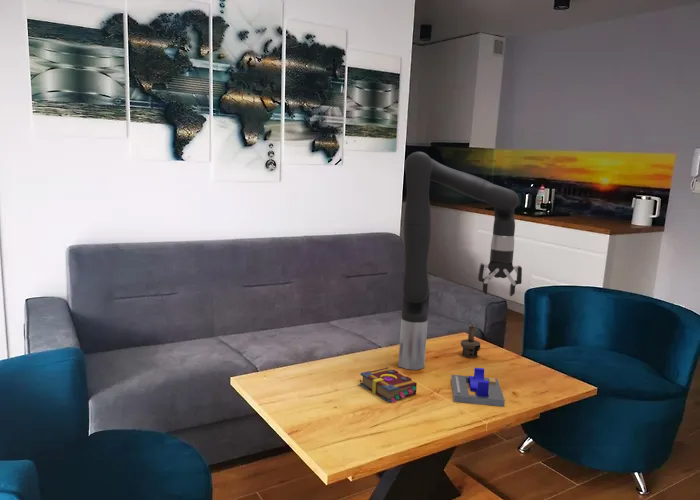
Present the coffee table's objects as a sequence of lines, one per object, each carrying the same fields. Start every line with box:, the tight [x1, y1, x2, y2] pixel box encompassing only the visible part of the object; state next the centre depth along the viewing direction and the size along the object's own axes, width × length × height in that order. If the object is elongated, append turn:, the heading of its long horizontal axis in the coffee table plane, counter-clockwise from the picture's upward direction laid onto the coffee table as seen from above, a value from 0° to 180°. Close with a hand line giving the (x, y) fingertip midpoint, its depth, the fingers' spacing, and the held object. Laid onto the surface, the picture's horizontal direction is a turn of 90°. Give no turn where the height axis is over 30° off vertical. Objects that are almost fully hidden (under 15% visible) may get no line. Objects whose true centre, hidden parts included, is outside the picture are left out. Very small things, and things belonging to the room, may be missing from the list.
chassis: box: [450, 374, 506, 407], centre depth 176 cm, size 15×17×3 cm
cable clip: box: [468, 367, 489, 397], centre depth 176 cm, size 12×4×6 cm, turn 174°
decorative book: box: [359, 367, 418, 404], centre depth 174 cm, size 11×16×5 cm
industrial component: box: [460, 324, 481, 358], centre depth 209 cm, size 9×7×12 cm
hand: (498, 294), depth 189 cm, fingers open, 8 cm apart
